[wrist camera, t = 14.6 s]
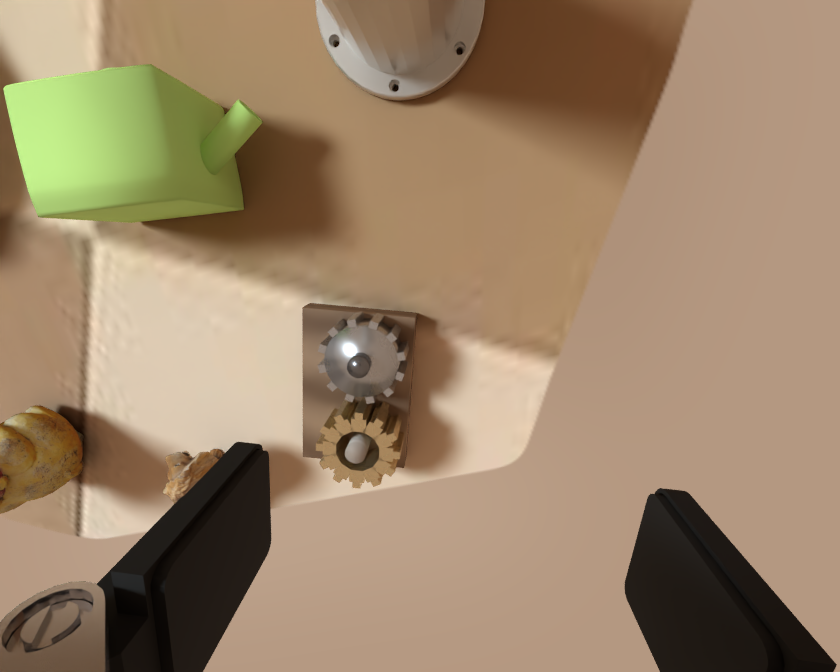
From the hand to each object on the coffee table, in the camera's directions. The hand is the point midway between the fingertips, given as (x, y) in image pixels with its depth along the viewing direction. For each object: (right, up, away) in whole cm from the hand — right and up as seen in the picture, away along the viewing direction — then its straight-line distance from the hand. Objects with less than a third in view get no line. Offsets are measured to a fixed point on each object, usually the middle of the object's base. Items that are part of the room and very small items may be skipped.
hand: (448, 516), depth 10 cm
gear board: (-7, 0, +30) cm, 31 cm away
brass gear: (-6, -5, +29) cm, 30 cm away
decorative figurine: (-39, -7, +35) cm, 53 cm away
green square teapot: (-21, +20, +26) cm, 39 cm away
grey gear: (-5, +3, +27) cm, 28 cm away
